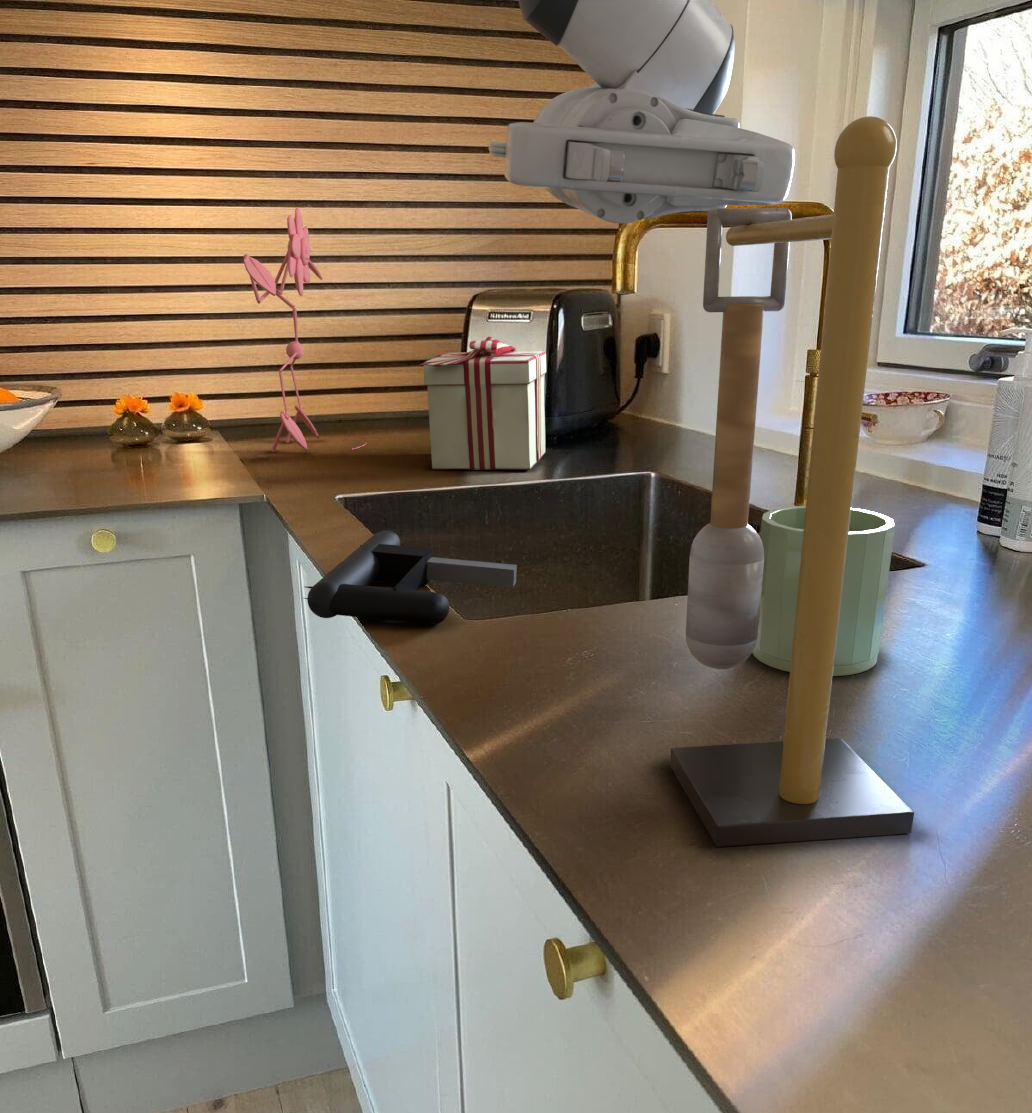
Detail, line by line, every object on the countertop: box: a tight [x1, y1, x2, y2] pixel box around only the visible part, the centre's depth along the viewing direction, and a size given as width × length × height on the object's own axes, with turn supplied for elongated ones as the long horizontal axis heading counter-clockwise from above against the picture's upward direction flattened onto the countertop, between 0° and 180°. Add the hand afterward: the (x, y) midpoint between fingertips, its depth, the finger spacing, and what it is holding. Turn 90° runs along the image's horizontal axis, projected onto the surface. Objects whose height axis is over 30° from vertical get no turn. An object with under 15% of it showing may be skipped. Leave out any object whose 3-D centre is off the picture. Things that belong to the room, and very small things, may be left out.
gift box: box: [419, 336, 547, 471], centre depth 149 cm, size 17×18×17 cm
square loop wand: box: [685, 207, 793, 670], centre depth 61 cm, size 5×4×26 cm
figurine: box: [242, 206, 368, 457], centre depth 161 cm, size 15×26×35 cm, turn 178°
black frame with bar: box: [303, 529, 518, 625], centre depth 91 cm, size 3×20×16 cm
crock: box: [751, 505, 896, 677], centre depth 74 cm, size 9×9×10 cm
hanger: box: [669, 115, 915, 848], centre depth 54 cm, size 10×19×32 cm, turn 7°
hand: (684, 171), depth 66 cm, fingers open, 8 cm apart
